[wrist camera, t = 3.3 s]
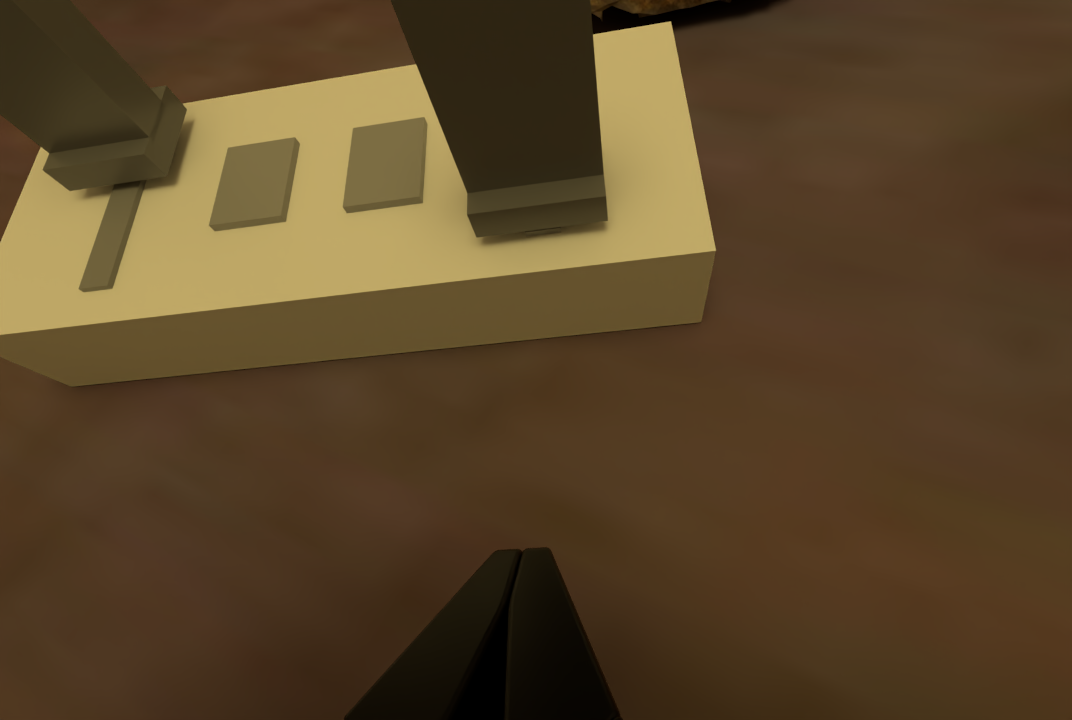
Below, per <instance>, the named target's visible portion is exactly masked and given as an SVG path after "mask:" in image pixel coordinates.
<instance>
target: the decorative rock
mask: <svg viewBox="0 0 1072 720" xmlns="http://www.w3.org/2000/svg"><path fill="white" fill-rule="evenodd" d="M712 1H721V2H728V3H730V2H731V1H732V0H590V3H591V13H592V14H594V15H596V16H598V17H599V18H600V19H601V21H602V18H603V10H605V9H607V8H608V7H610V6H614V7H617V8H619V9H622V10H625V11H627V12H630V13H638V16H639V18H641V17H646V16H652V15H657V14H661V13H665V12H669V11H673V10H678V9H684V8H691V7H694V6H697V5H700V4H704V3H707V2H712Z"/></svg>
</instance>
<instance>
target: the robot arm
mask: <svg viewBox="0 0 1072 720" xmlns="http://www.w3.org/2000/svg"><path fill="white" fill-rule="evenodd" d="M344 720H623V719H622V718H621V717H620V713H619V710H618V708H617V706H616V703H615V701H614V698H613V696H612V694H611V691H610V689H609V687H608V684H607V682H606V680H605V677H604V675H603V672H602V670H601V668H600V665H599V663H598V661H597V658H596V656H595V654H594V651H593V649H592V646H591V644H590V642H589V639H588V637H587V635H586V632H585V630H584V627H583V625H582V623H581V620H580V618H579V616H578V613H577V611H576V609H575V606H574V604H573V601H572V599H571V597H570V594H569V592H568V590H567V587H566V585H565V583H564V580H563V578H562V575H561V573H560V571H559V568H558V566H557V564H556V561H555V559H554V556H553V554H552V552H551V550H550V549H549V548H547V547H543V548H527V549H525V550H524V551H523V552H522V551H521V550H520V549H508V550H497V551H495V552H494V553H493V554H492V555H491V556H490V557H489V558H488V559H487V560H486V561H485V562H484V563H483V565H482V566H481V567H480V568H479V569H478V570H477V571H476V572H475V573H474V574H473V576H472V577H471V578H470V579H469V580H468V581H467V582H466V583H465V584H464V586H463V587H462V588H461V589H460V590H459V591H458V592H457V593H456V594H455V595H454V597H453V598H452V599H451V600H450V601H449V602H448V603H447V604H446V605H445V606H444V608H443V609H442V610H441V611H440V612H439V613H438V614H437V615H436V616H435V618H434V619H433V620H432V621H431V622H430V623H429V624H428V625H427V626H426V627H425V629H424V630H423V631H422V632H421V633H420V634H419V635H418V636H417V637H416V639H415V640H414V641H413V642H412V643H411V644H410V645H409V646H408V647H407V648H406V650H405V651H404V652H403V653H402V654H401V655H400V656H399V657H398V658H397V660H396V661H395V662H394V663H393V664H392V665H391V666H390V667H389V668H388V669H387V671H386V672H385V673H384V674H383V675H382V676H381V677H380V678H379V679H378V680H377V682H376V683H375V684H374V685H373V686H372V687H371V688H370V689H369V690H368V692H367V693H366V694H365V695H364V696H363V697H362V698H361V699H360V700H359V701H358V703H357V704H356V705H355V706H354V707H353V708H352V709H351V710H350V711H349V713H348V714H347V715H346V716H345V718H344Z"/></svg>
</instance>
